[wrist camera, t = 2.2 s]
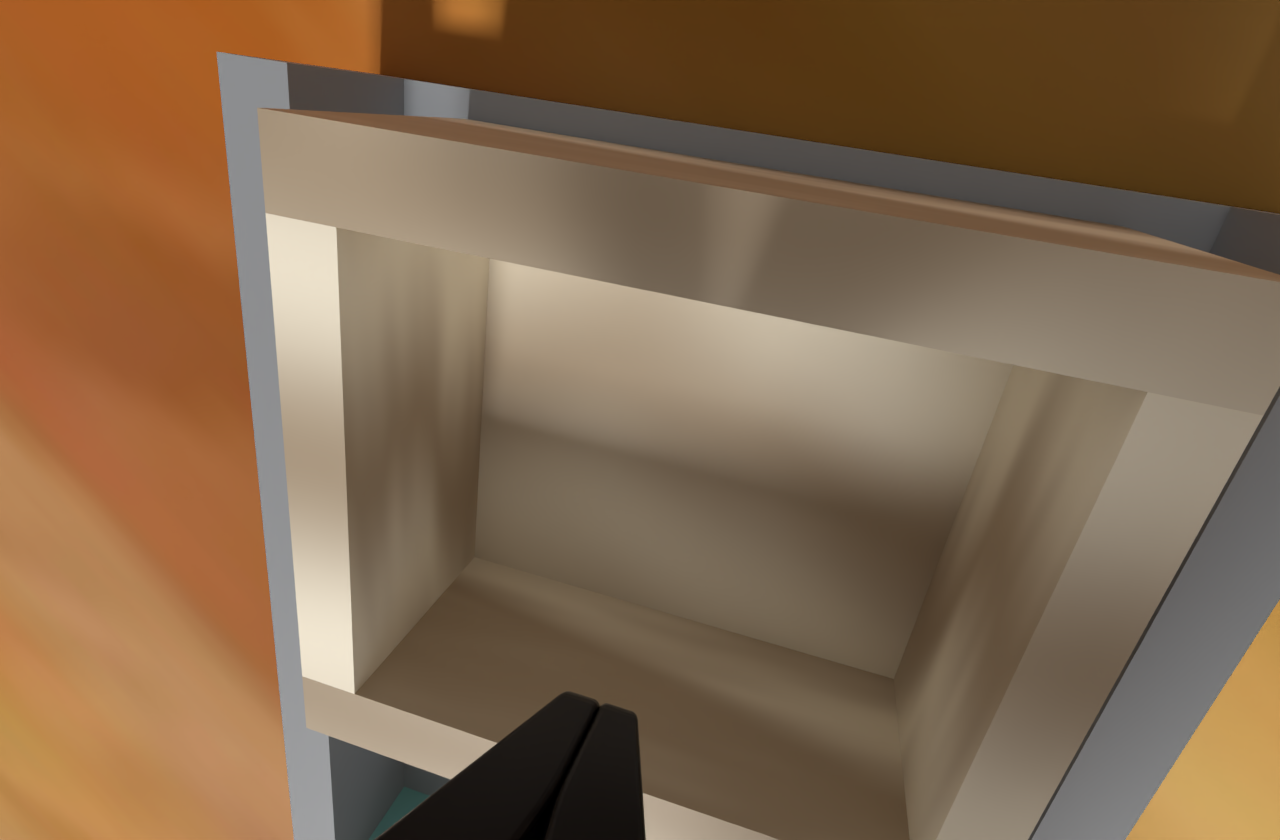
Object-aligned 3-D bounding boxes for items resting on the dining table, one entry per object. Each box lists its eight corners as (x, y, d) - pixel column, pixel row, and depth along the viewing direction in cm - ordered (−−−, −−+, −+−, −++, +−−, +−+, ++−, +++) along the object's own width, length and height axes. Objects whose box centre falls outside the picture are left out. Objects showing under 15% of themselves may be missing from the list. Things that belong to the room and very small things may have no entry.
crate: (923, 709, 15) (960, 961, 10) (450, 569, 17) (306, 727, 12) (1123, 226, 11) (1332, 290, 6) (464, 118, 13) (257, 107, 8)
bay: (907, 962, 19) (923, 1154, 15) (388, 773, 22) (299, 897, 18) (1284, 214, 11) (1502, 252, 7) (378, 74, 14) (216, 51, 10)
